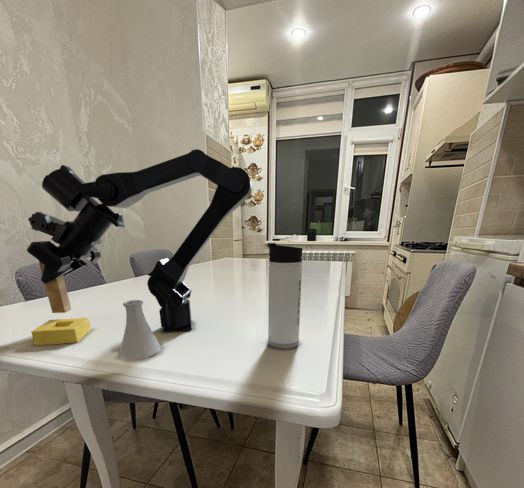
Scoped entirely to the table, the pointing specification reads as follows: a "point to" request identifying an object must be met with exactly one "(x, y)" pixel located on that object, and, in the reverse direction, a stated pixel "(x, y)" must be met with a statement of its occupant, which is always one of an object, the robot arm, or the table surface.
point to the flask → (137, 333)
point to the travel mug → (284, 295)
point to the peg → (57, 294)
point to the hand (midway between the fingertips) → (47, 280)
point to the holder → (61, 331)
